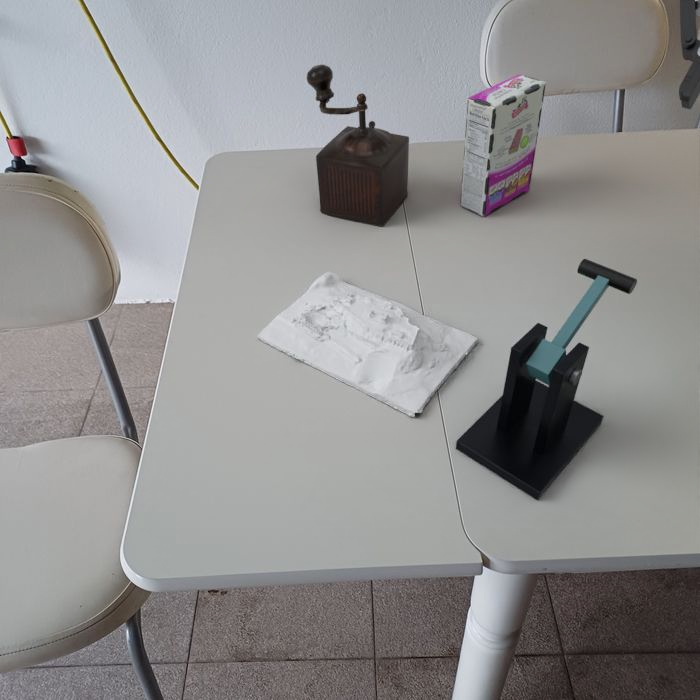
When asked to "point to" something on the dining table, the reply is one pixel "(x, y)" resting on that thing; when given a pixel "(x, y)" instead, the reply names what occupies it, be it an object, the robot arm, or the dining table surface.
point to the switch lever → (576, 318)
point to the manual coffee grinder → (359, 163)
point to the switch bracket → (533, 421)
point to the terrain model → (369, 342)
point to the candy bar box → (500, 143)
